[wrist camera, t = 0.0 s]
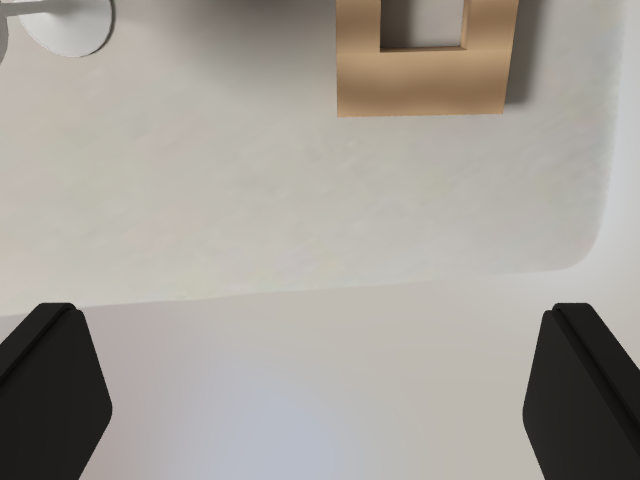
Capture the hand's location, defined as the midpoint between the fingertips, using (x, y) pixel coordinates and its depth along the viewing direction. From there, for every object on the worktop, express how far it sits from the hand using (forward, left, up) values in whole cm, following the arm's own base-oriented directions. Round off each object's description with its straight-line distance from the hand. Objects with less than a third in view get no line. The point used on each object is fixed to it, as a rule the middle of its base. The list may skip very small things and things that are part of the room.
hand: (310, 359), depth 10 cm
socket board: (-5, +6, -31) cm, 32 cm away
